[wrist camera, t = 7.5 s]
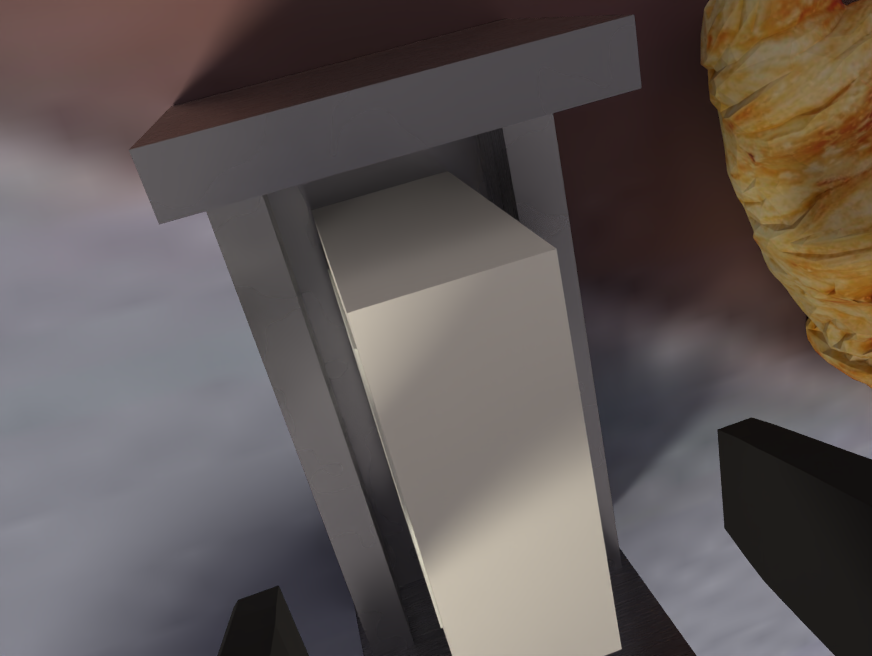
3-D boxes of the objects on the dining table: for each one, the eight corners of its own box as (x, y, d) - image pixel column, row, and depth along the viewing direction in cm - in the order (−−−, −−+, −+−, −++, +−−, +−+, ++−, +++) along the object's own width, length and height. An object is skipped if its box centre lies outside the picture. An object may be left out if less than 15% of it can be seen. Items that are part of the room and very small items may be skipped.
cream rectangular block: (515, 469, 19) (624, 648, 13) (402, 508, 18) (466, 708, 13) (450, 170, 15) (560, 247, 10) (308, 210, 15) (343, 313, 10)
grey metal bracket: (592, 529, 21) (701, 688, 16) (360, 613, 20) (398, 808, 15) (504, 19, 15) (634, 14, 10) (170, 106, 14) (128, 149, 9)
